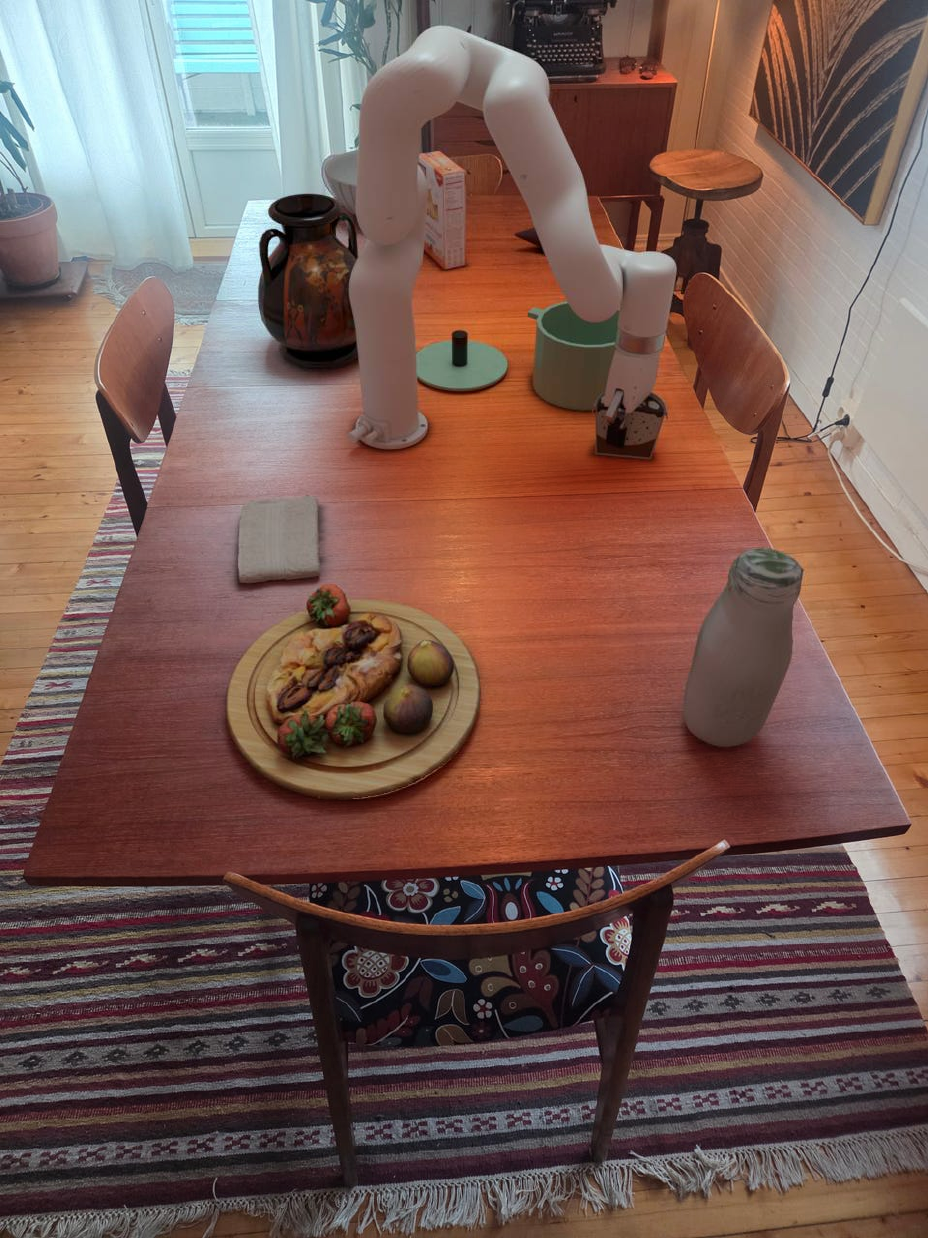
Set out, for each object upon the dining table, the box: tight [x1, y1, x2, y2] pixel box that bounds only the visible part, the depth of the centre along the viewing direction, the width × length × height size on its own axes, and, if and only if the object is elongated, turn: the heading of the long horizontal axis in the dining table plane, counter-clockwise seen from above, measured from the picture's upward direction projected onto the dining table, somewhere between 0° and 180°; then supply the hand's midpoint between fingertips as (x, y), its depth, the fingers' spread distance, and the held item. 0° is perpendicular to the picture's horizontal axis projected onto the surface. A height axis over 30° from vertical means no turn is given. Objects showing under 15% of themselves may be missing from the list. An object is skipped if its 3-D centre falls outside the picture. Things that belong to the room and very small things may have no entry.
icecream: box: [514, 227, 545, 254], centre depth 206 cm, size 7×7×15 cm
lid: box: [416, 329, 509, 392], centre depth 167 cm, size 18×18×7 cm
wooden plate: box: [225, 583, 482, 801], centre depth 109 cm, size 32×32×8 cm
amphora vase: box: [257, 193, 359, 371], centre depth 164 cm, size 22×22×28 cm
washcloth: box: [237, 495, 322, 584], centre depth 132 cm, size 12×18×3 cm, turn 9°
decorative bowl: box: [323, 149, 421, 216], centre depth 217 cm, size 27×27×12 cm
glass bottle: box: [682, 547, 805, 748], centre depth 99 cm, size 10×10×28 cm
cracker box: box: [418, 150, 467, 271], centre depth 198 cm, size 14×6×21 cm, turn 25°
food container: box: [591, 391, 669, 460], centre depth 148 cm, size 12×6×10 cm, turn 81°
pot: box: [527, 300, 620, 411], centre depth 161 cm, size 18×23×12 cm
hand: (625, 434), depth 149 cm, fingers closed on food container, 6 cm apart
